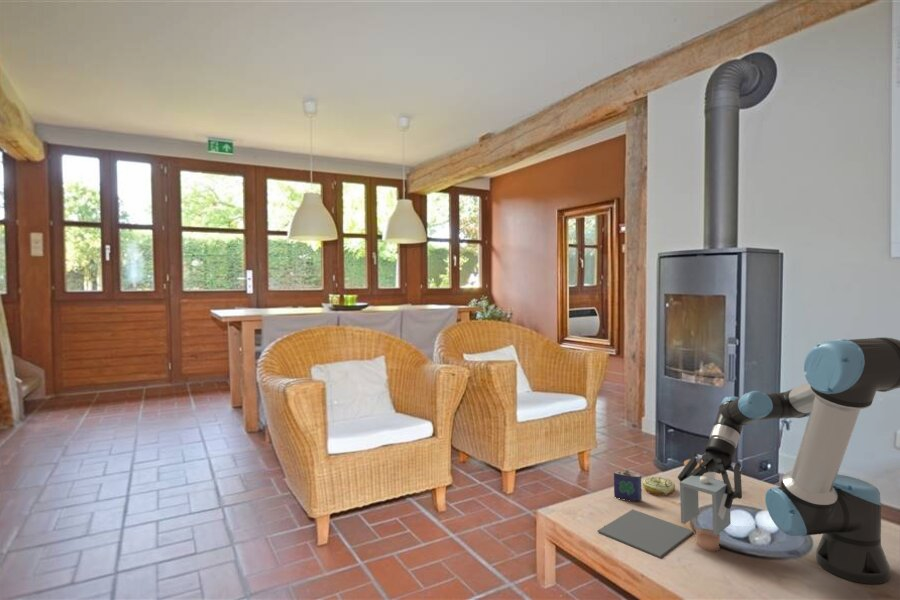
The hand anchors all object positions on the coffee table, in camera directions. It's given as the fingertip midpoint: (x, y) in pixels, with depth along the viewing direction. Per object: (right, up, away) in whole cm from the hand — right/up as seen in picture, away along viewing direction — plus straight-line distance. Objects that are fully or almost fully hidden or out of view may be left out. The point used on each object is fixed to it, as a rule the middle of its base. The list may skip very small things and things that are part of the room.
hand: (700, 511), depth 145 cm
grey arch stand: (+2, -4, +2) cm, 5 cm away
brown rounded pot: (+3, -10, +1) cm, 11 cm away
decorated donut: (+4, -9, +39) cm, 40 cm away
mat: (-12, -11, +10) cm, 19 cm away
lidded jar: (+21, -8, +42) cm, 48 cm away
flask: (-9, -10, +33) cm, 36 cm away
